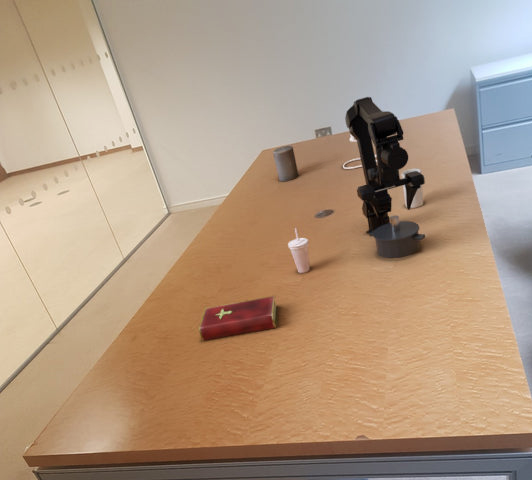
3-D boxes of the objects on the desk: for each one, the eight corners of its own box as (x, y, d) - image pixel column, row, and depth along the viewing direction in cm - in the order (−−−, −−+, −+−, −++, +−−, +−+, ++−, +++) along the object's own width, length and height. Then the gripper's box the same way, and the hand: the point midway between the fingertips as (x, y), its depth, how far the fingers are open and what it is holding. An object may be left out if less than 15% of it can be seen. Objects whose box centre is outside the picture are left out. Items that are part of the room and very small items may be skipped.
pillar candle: (302, 173, 270) (296, 142, 263) (292, 181, 264) (285, 148, 256) (285, 174, 276) (278, 143, 268) (275, 182, 270) (268, 150, 262)
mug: (423, 207, 199) (420, 173, 193) (403, 209, 202) (400, 176, 195) (425, 197, 206) (423, 164, 200) (407, 199, 209) (403, 167, 203)
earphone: (388, 153, 251) (353, 133, 248) (367, 185, 260) (334, 166, 258) (387, 145, 262) (354, 126, 259) (368, 176, 271) (336, 158, 269)
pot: (414, 263, 165) (412, 242, 161) (362, 257, 177) (359, 238, 173) (434, 244, 172) (433, 225, 168) (384, 240, 183) (381, 221, 180)
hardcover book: (276, 328, 152) (272, 315, 150) (202, 341, 156) (197, 328, 154) (278, 307, 162) (274, 294, 160) (208, 319, 166) (204, 307, 164)
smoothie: (316, 264, 180) (307, 223, 173) (310, 274, 175) (301, 232, 168) (297, 266, 182) (288, 225, 175) (291, 275, 178) (282, 234, 170)
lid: (410, 243, 163) (409, 226, 160) (366, 243, 170) (364, 227, 167) (425, 223, 172) (424, 207, 169) (382, 224, 179) (380, 208, 177)
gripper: (409, 147, 167) (414, 197, 175) (348, 164, 167) (356, 214, 175) (423, 154, 157) (427, 208, 165) (358, 172, 157) (366, 225, 166)
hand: (393, 213), depth 168 cm, fingers open, 9 cm apart
